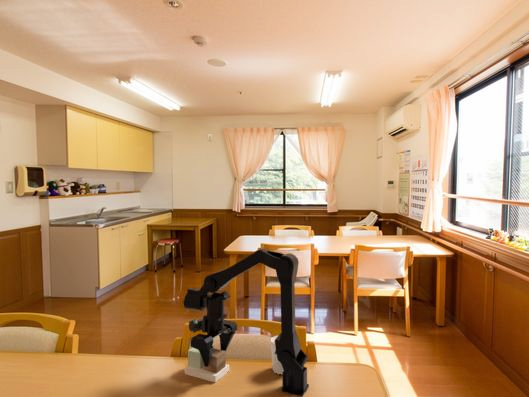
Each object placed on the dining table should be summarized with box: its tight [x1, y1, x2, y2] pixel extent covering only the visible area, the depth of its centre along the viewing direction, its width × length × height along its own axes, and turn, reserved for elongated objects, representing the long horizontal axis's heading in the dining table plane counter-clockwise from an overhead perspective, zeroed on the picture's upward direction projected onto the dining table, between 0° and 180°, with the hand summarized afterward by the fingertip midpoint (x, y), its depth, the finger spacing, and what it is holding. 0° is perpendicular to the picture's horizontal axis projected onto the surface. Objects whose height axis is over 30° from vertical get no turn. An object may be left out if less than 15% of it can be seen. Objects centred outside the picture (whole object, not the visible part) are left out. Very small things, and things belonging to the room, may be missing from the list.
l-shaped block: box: [184, 347, 230, 384], centre depth 107 cm, size 12×8×7 cm, turn 64°
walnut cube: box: [204, 347, 227, 373], centre depth 106 cm, size 5×5×5 cm
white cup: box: [270, 335, 284, 376], centre depth 109 cm, size 8×8×10 cm
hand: (215, 360), depth 106 cm, fingers open, 9 cm apart
